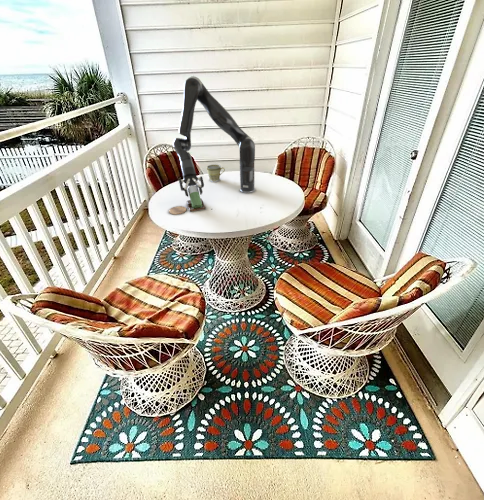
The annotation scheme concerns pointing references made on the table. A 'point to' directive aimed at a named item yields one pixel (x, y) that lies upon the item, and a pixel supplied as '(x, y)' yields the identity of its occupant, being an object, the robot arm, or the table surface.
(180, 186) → the robot arm
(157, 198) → the table surface
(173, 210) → the cork coaster
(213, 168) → the ceramic cup
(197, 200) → the green can
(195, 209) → the walnut rest
